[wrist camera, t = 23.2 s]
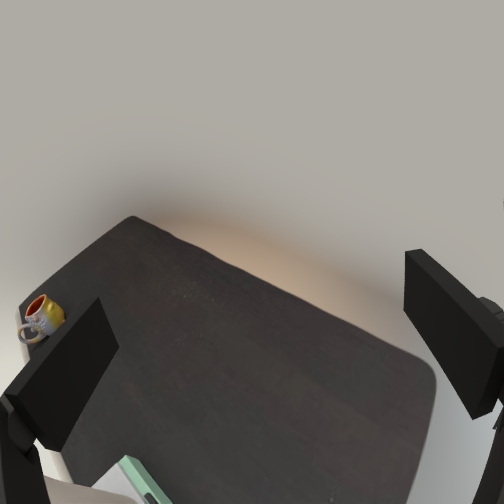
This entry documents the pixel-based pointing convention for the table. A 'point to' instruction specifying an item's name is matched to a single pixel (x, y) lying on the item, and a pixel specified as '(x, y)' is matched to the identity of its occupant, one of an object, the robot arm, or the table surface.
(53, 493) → the candle
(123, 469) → the scale
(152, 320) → the table surface
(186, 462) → the table surface
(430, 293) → the robot arm
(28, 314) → the mug
